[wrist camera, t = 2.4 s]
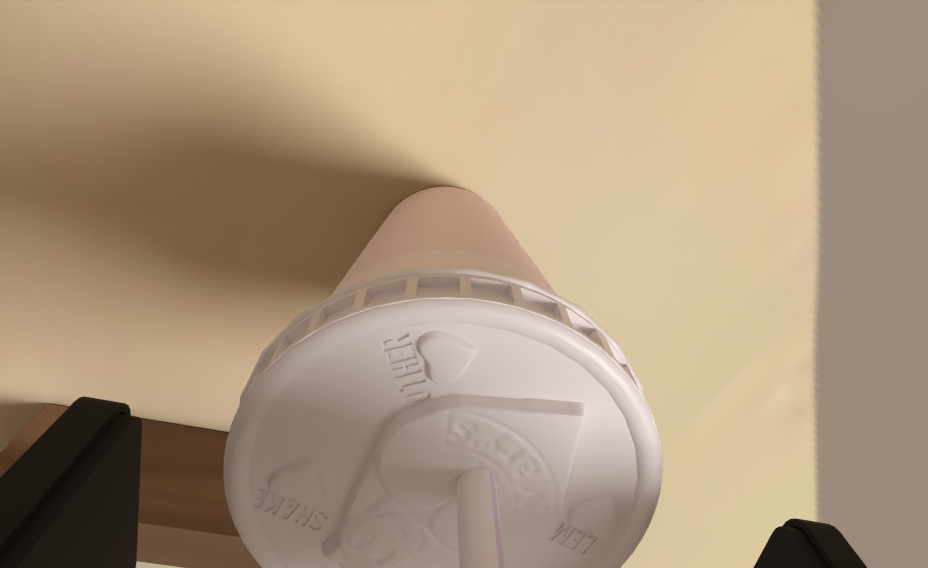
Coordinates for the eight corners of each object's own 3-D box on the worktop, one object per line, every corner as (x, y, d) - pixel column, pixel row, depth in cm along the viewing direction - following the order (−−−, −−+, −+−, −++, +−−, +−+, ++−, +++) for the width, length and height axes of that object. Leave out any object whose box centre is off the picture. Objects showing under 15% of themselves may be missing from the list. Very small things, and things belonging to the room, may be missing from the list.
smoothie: (600, 265, 18) (972, 899, 5) (428, 384, 20) (402, 1100, 7) (462, 84, 16) (540, 431, 3) (281, 233, 17) (-156, 874, 5)
